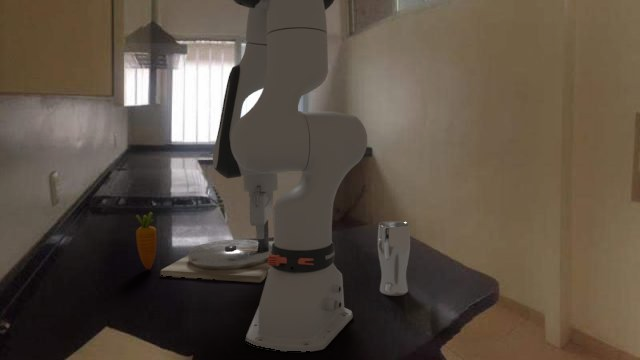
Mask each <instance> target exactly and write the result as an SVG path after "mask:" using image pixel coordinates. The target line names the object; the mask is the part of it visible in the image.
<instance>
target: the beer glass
mask: <svg viewBox="0 0 640 360" xmlns="http://www.w3.org/2000/svg"><path fill="white" fill-rule="evenodd" d="M377 251H378V259H379V265H380V271H381V279H380V285H379V291H380V293H381V294H383V295H385V296H389V297H390V296H391V297H400V296H404V295H406V294H407V293H408V291H409V289H408V283H407V269H408V268H407V267H408V263H409V258H410V251H411V232H410V223H408V222H406V221H405V222H404V221H399V220H397V221H396V220H388V221H387V220H386V221H381V222H379V223H378V230H377Z"/></svg>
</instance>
